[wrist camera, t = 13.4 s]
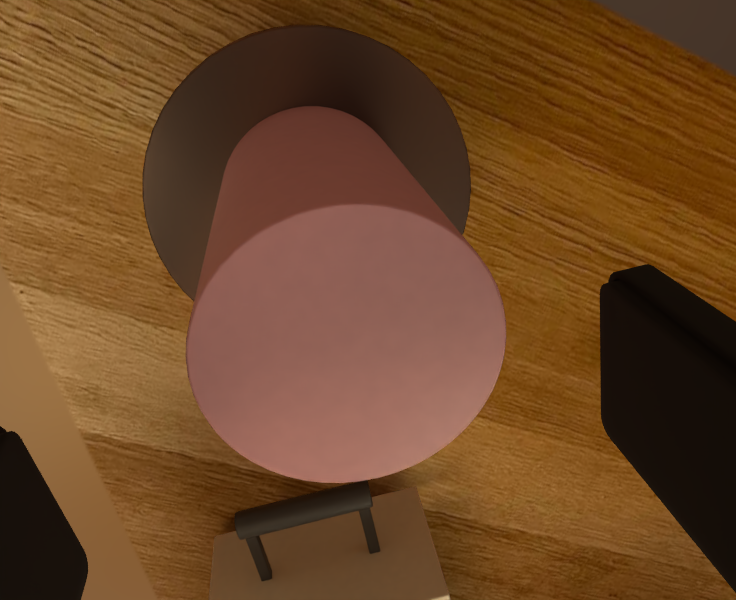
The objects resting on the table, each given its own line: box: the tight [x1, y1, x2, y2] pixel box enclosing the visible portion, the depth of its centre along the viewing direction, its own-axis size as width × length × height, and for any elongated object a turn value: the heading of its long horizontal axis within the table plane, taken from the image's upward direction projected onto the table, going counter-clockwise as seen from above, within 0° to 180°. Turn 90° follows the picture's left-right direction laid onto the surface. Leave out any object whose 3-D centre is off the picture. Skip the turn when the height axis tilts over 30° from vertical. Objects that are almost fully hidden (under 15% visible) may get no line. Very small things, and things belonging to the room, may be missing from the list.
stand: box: [143, 25, 471, 301], centre depth 25 cm, size 11×11×9 cm
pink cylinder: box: [186, 106, 506, 483], centre depth 16 cm, size 6×6×10 cm
